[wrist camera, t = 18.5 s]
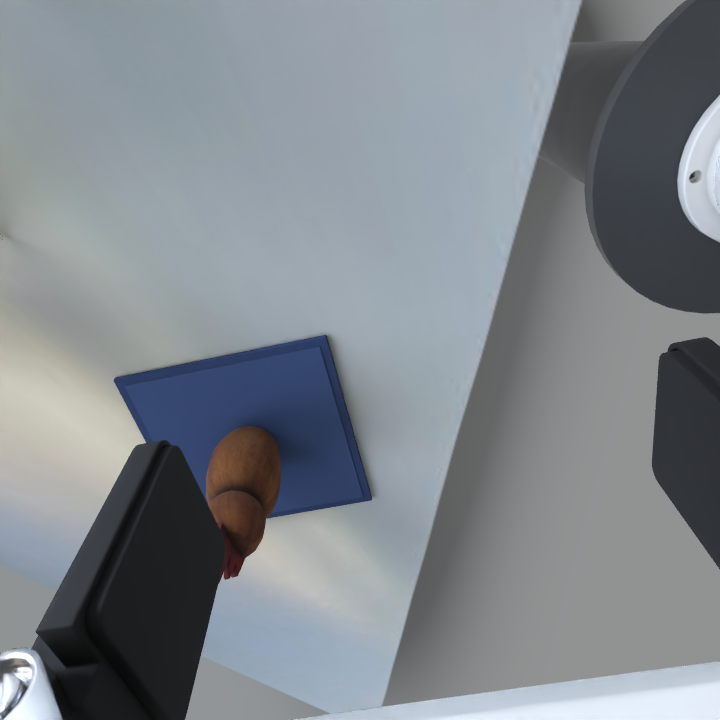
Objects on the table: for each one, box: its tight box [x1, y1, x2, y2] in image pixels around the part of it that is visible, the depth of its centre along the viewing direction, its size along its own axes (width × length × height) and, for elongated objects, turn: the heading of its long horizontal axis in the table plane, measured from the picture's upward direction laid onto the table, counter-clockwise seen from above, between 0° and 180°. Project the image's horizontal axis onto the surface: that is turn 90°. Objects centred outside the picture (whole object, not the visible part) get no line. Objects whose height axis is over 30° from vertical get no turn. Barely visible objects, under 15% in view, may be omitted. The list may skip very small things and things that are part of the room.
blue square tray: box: [114, 335, 372, 518], centre depth 48 cm, size 18×18×1 cm
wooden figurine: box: [206, 426, 281, 584], centre depth 42 cm, size 7×6×15 cm
